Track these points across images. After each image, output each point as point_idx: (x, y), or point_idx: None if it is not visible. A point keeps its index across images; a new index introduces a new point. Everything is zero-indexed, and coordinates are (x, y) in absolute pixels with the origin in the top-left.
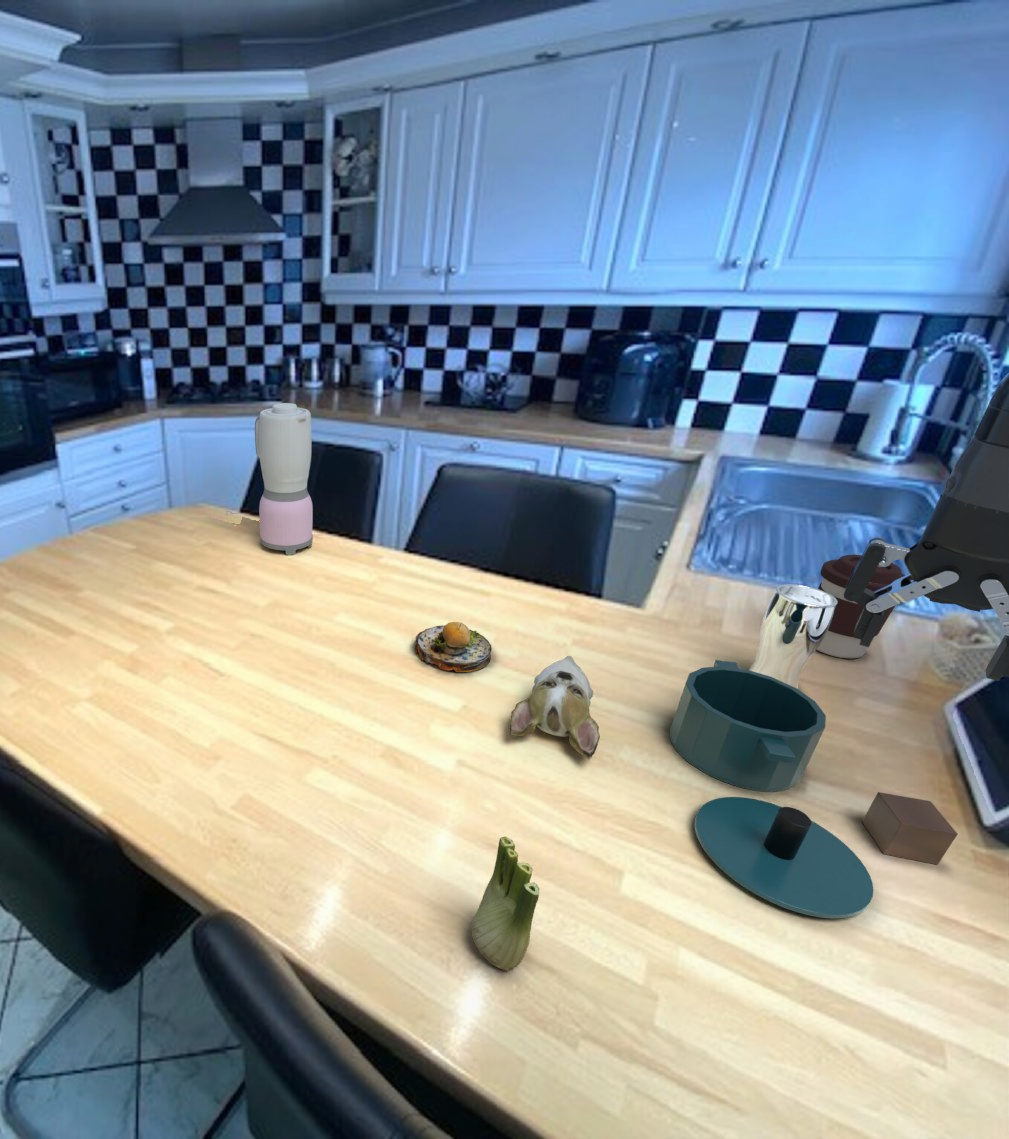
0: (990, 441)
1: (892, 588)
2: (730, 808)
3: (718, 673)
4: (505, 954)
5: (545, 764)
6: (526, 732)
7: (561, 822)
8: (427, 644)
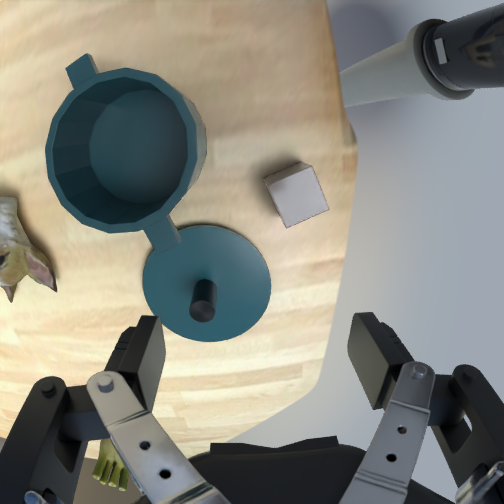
0: None
1: (124, 464)
2: (161, 263)
3: (72, 105)
4: None
5: (43, 295)
6: (14, 290)
7: (85, 347)
8: None
